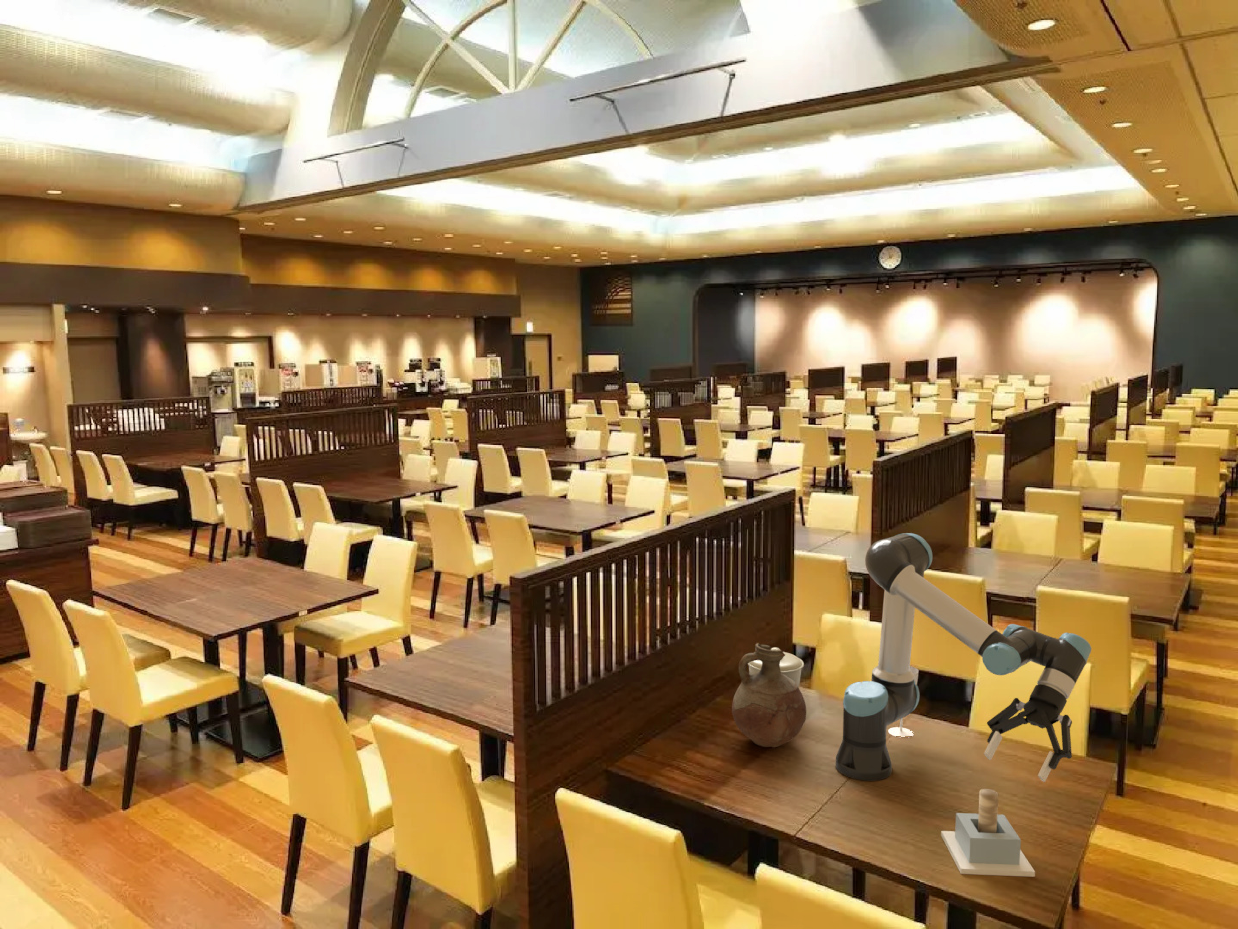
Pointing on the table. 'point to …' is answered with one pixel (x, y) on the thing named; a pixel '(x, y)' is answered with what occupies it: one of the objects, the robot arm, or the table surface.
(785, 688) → the jug
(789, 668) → the canister
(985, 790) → the birch peg
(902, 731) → the wineglass
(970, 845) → the socket block
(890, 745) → the table surface
